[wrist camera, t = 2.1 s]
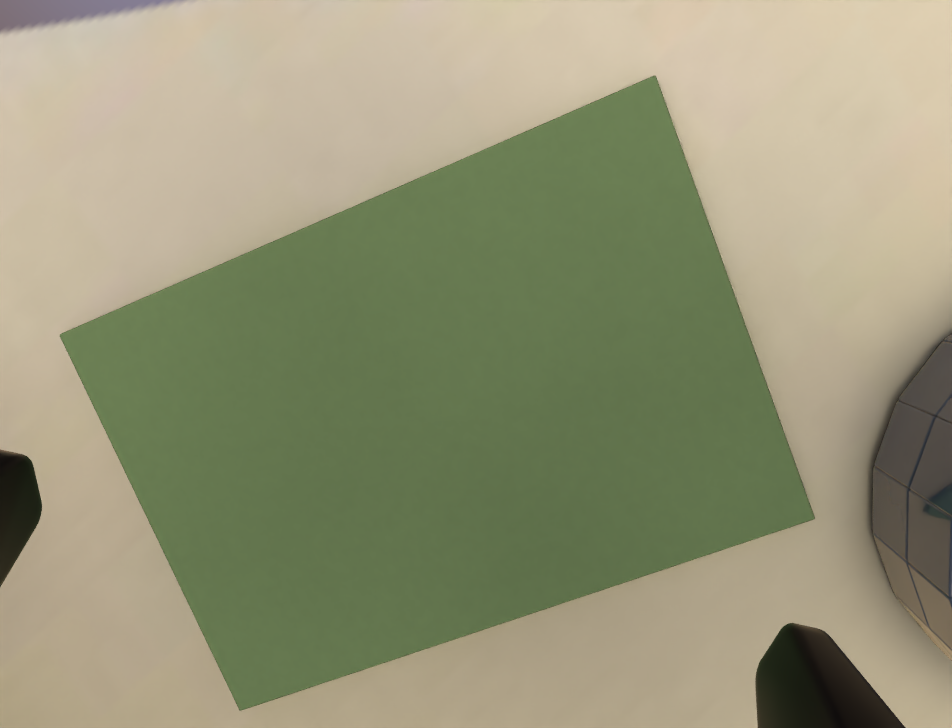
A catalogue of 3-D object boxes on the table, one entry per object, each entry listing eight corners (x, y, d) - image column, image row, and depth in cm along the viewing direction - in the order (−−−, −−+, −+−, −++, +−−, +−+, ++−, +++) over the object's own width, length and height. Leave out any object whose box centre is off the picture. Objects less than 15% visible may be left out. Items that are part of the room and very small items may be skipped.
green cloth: (811, 515, 22) (815, 519, 22) (243, 705, 25) (239, 711, 25) (654, 77, 20) (655, 75, 20) (64, 333, 23) (58, 334, 23)
